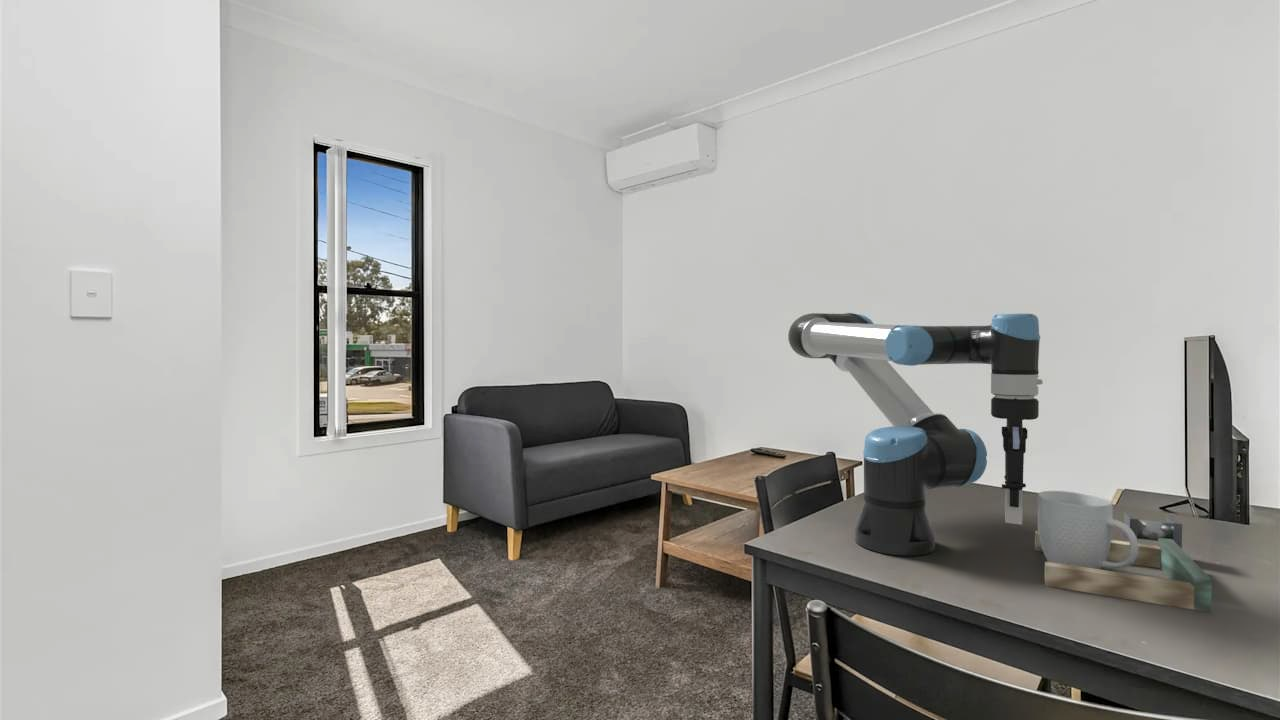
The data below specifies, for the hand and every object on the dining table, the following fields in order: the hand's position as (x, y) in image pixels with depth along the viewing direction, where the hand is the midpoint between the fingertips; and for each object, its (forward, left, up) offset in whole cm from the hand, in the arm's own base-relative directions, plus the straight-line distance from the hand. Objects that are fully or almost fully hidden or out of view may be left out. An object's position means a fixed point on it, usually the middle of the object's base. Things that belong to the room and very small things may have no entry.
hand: (1013, 522), depth 113 cm
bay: (+15, 0, -7) cm, 17 cm away
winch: (+23, +15, -7) cm, 29 cm away
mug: (+10, 0, -8) cm, 13 cm away
